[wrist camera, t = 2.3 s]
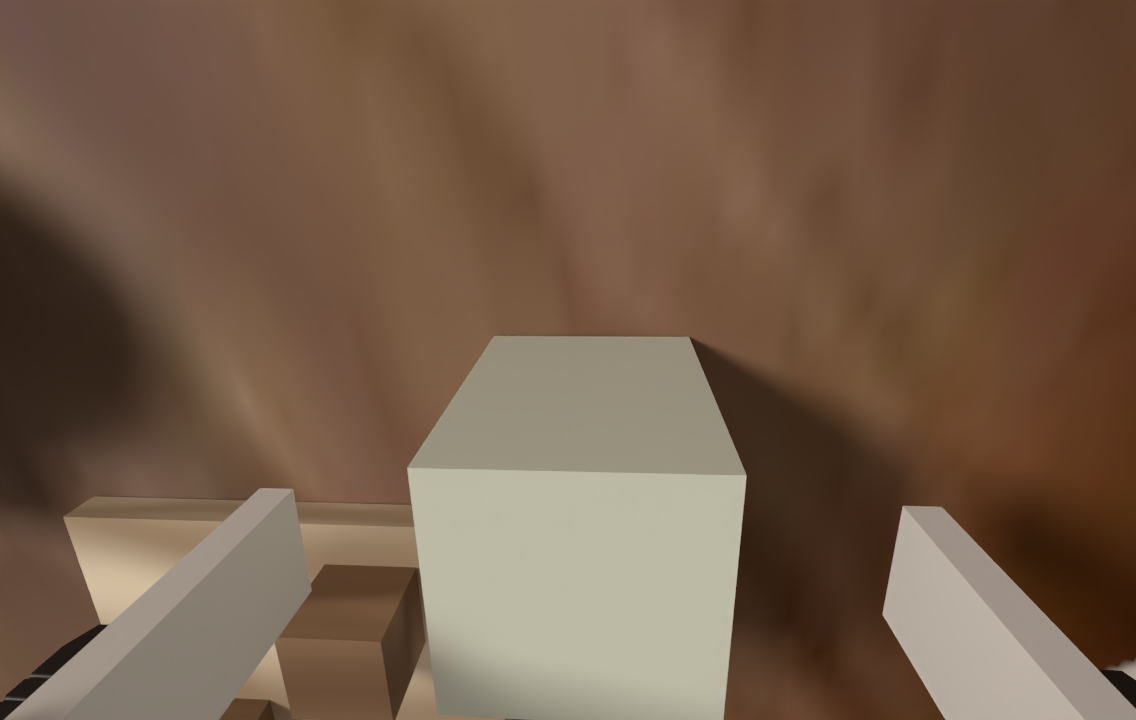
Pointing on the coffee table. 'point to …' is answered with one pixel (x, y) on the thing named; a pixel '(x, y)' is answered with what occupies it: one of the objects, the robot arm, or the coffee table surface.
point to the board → (184, 523)
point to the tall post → (248, 710)
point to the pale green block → (580, 533)
